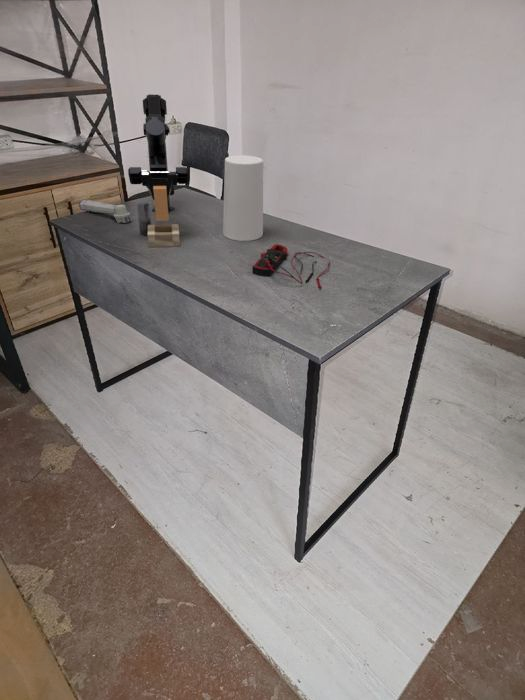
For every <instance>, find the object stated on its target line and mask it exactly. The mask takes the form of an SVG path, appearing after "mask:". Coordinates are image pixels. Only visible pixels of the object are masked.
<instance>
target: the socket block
mask: <svg viewBox="0 0 525 700" xmlns="http://www.w3.org/2000/svg"><path fill="white" fill-rule="evenodd" d="M179 230H180V229H179V223H170V224H168V223H167V224H166V223H164V224H163V223H161V224H151V225H148V236H147V242H148V243H147V244H148V248H158V247H159V248H160V247H163V248H164V247H166V248H167V247H181V242H180V231H179Z"/></svg>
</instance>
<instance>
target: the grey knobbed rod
mask: <svg viewBox="0 0 525 700" xmlns="http://www.w3.org/2000/svg"><path fill="white" fill-rule="evenodd" d="M78 207H79V209H80V210H81V211H85V212H87V213H91V212H94V213H102V214H113V217H114V218H115V222H116V221H117V224H121V223H124V224H125V223H129V222H131V213H130V212H129V211H128V210H127V206H126V205H125V204H117V205H116V204H111V203H106V202H105V203H104V202H98V201H94V200H91V199H83V200H80V201H79V204H78ZM89 211H91V212H89Z"/></svg>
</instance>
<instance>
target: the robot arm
mask: <svg viewBox="0 0 525 700" xmlns="http://www.w3.org/2000/svg"><path fill="white" fill-rule="evenodd" d="M142 110H143V115H145V123H143V130H142V131H143V135H144V136H146V140H147V149H148V151H147V152H148V165H149V170H145V169H144V170H142V167H141V166H135V167H134V166H131V167H130V166H129V168H128V170H127V172H128V178H129V184H131V185H141V186H142V187H146V188H147V190H148V191H149V193H150V196H151V198H152V201H154V191H153V186H166V190H167V203H168V213H169V212H170V211H172V210H174V209H175V208H174V206H171V201H170V197H171V196H174V195H175V186H176V187H177V185H188V184H189V182H190V181H189V179H190V177H189V176H190V175H189V173H190V172H189V168H188V167H187V166H176V167H175V171H169V169H168V157H167V143H166V139H167V138H166V137H167V136H169V134H170V132H171V130H170V127H169V125H168V123H166V115H168V112H167V110H168V109H167V100H166V99H164V98H163V97H162V96H161V95H160V94H150V93H149V94H148V95H147V94H146V97H145V98H144V99H142ZM151 211H152V212H155V207H154V208H152V209H151Z"/></svg>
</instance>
